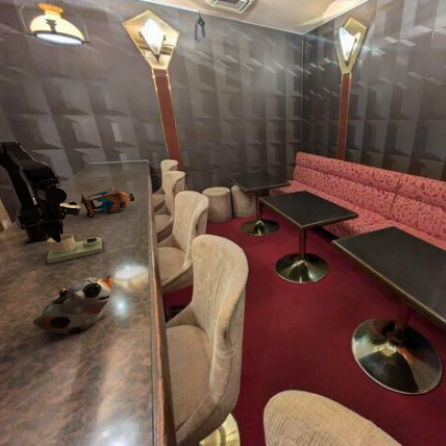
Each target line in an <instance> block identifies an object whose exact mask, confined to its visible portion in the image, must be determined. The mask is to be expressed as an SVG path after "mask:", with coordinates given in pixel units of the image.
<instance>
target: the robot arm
mask: <svg viewBox="0 0 446 446" xmlns="http://www.w3.org/2000/svg"><path fill="white" fill-rule="evenodd" d="M0 168H1V169H2V170H3V171H4V173H5V175H6V178H7V181H8V184H9V185H10V188H11V190H12V193H13V195H14V197H15V199H16V202H17V204H18V206H17V208H16V209H15V214H16V216H15V225H16V227H17V228H18V229H19V230H21V231H25V233H26V236H27V240H26V243H27V244H29V243H34V242H40V241H47V240H48V239H49V238H52V239H53V240H55V241H56V242H57V243H58V242H61V235H64V225H65V224H64V220H65V218H67V216H68V215H69V216H74V217H79V216H80V213H81V205H80V204H77V201H75V200H70V201H69V202H68V203H67V202H66V203H64V202H65V201H66V200H67V197H68V195H67V193H66V191H65V190H64V189H62V188H59V187H57V185H59V184H61V181H60V177H59V176H58V175H57V173H56V172H55V170H54V169H52V167H51V166H49V165H48V164H46V163H45V162H44V161H40V160H36V159H35V158H34V157H32V155H30V154H29V153H28V152H27V151H26V150H25V149H24V148H23V147H22V144H21V143H20V142H19V141H1V142H0ZM29 188H30V189H29ZM31 193H32V194H31ZM32 195H33V197H32ZM33 198H35V201H36V205H35V204H34V202H33Z"/></svg>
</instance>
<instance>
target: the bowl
mask: <svg viewBox="0 0 446 446" xmlns="http://www.w3.org/2000/svg"><path fill="white" fill-rule="evenodd" d="M60 235H61V242H58V243H57V242H56V241H55V240H53V239H52V238H51V237H49V238H48V239H47V240H46V242H47V244H48V247H49V251H50V250H51V252H54V253H65V252H68V251H71V250H73V249H74V248H75V247H76V242H77V241H76V240H75V237H74V235H73V234H69V233H68V234H67V233H65V234H60Z"/></svg>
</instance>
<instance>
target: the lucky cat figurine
mask: <svg viewBox="0 0 446 446" xmlns="http://www.w3.org/2000/svg"><path fill="white" fill-rule="evenodd" d="M111 277H112V276H111V275H107V276H106V277H104V278H103V277H102V278H101V277H86V278H83V279H81V280H79V281H78V282H76V283H74V284H72V285H71V287H69V288H68V289H67V288H61V289H60V290H58V296H59V297H57V298H56V299H54V300H52V301H50V302H48V304H47V305H46V306H45V308H44V310H43V311H42V313H41V315H40V316H39V317H37V318H35V319H34V320H33V321H32V322H33V323H32V324H33V326H34V327H36V328H39V329H40V330H44V331H47V332H51V333H54V334H61V335H63V334H64V335H69V334H71V333H73V332H78V333H80V332H84V331H85V330H86V329H88V328H89V327H90V326H92V325H94V324H95V323H96V322H97V321H99V320H100V319H101V318H102V316H103V309H104V306H105V305H106V304H107V303H108V302H109V300H110V299H111V292H112V289H111V288H112V286H113V280H112V278H111Z"/></svg>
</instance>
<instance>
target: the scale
mask: <svg viewBox="0 0 446 446" xmlns="http://www.w3.org/2000/svg"><path fill="white" fill-rule="evenodd" d="M96 239H97V241H95V242H90V243H88V242H87V239H85V240H81V241H75V242H76V247H75V248H74V249H73V250H71V251H68V252H65V253H54V252H51V250H50V249H49V251H48V254H47V257H46V262H47V264H51V263H57V262H61V261H62V262H63V261H66V260H70V259H75V258H81V257H85V256H89V255H95V254H99V253H103V240H102V238H101V237H96Z"/></svg>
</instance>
